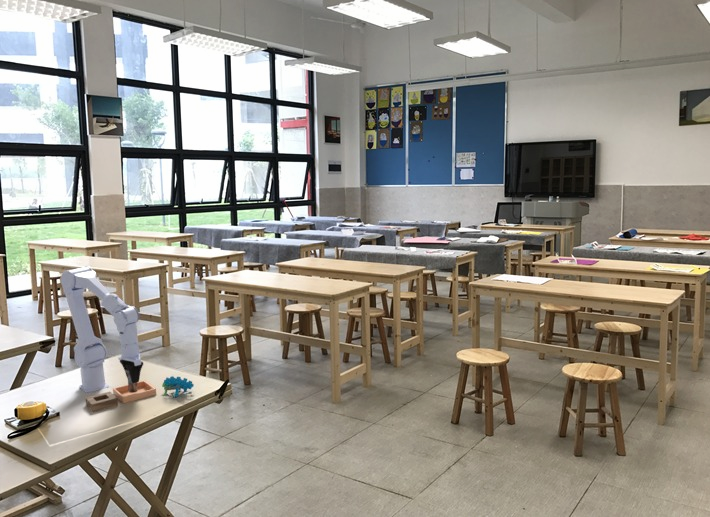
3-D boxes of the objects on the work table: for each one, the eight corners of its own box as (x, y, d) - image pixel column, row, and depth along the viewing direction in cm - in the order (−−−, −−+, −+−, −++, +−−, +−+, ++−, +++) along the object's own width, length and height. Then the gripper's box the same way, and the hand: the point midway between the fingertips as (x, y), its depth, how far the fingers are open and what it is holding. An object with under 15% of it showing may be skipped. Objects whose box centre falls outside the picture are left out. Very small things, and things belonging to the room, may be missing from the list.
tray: (113, 395, 211) (112, 388, 211) (145, 387, 218) (144, 380, 218) (123, 404, 203) (122, 397, 202) (156, 395, 209) (155, 388, 209)
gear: (199, 385, 213) (184, 373, 205) (195, 401, 209) (180, 389, 201) (172, 388, 216) (156, 376, 208) (168, 403, 212) (152, 392, 205)
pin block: (86, 406, 203) (85, 397, 202) (111, 399, 207) (110, 391, 207) (93, 413, 196) (91, 404, 196) (118, 406, 201) (117, 397, 201)
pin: (124, 390, 210) (123, 369, 209) (137, 388, 213) (136, 366, 212) (128, 394, 207) (127, 372, 206) (141, 391, 209) (140, 369, 208)
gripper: (110, 340, 211) (115, 378, 213) (124, 349, 199) (128, 389, 201) (131, 336, 215) (135, 373, 217) (145, 345, 204) (149, 383, 206)
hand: (133, 380), depth 209 cm, fingers closed on pin, 4 cm apart
